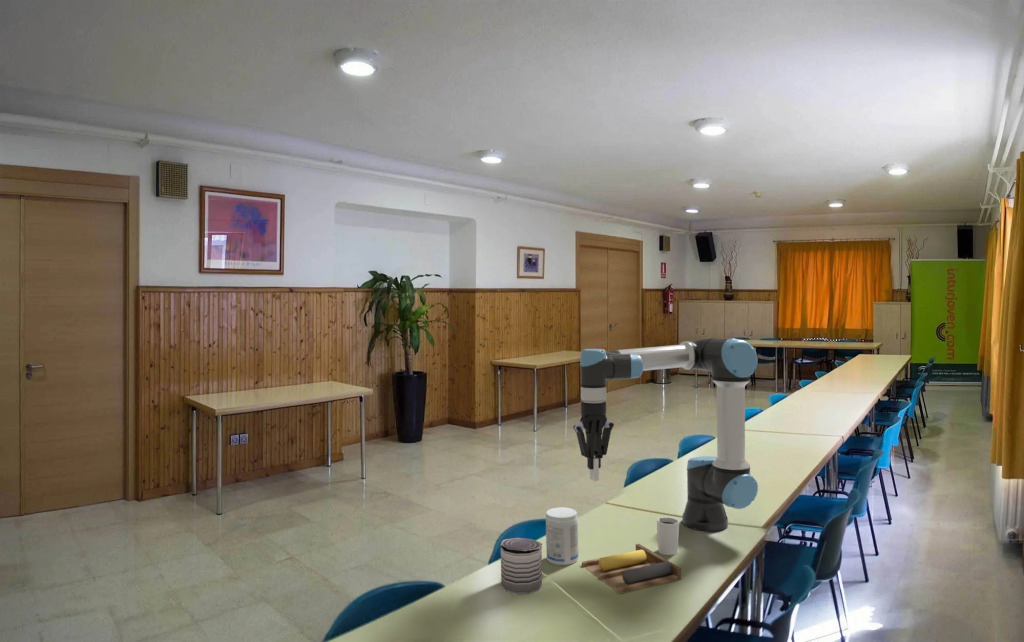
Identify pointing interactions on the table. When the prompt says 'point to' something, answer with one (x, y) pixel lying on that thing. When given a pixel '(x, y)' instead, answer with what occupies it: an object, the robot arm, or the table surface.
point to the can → (521, 565)
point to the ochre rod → (622, 560)
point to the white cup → (667, 535)
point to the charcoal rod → (646, 572)
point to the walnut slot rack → (615, 575)
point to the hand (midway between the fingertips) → (594, 479)
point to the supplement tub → (562, 536)
